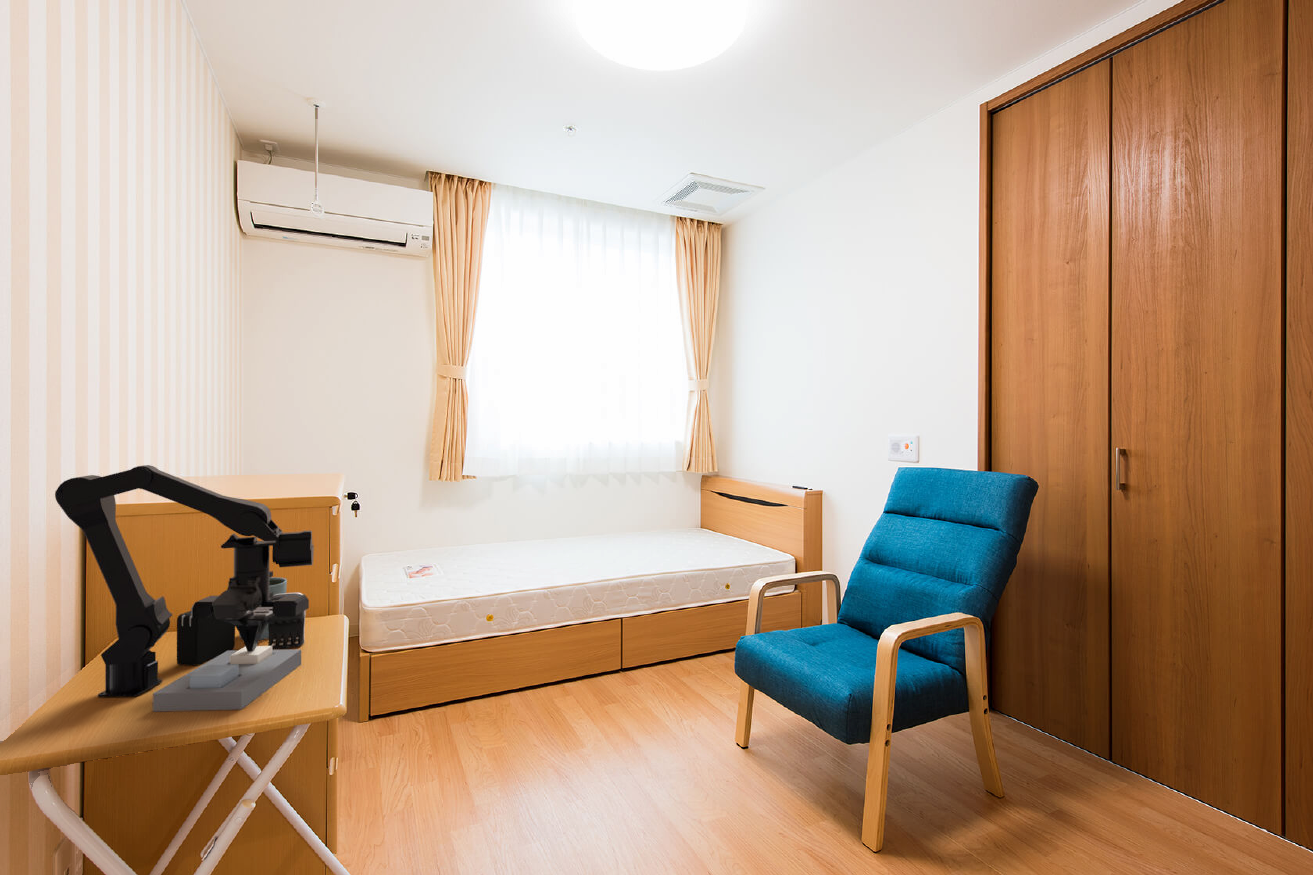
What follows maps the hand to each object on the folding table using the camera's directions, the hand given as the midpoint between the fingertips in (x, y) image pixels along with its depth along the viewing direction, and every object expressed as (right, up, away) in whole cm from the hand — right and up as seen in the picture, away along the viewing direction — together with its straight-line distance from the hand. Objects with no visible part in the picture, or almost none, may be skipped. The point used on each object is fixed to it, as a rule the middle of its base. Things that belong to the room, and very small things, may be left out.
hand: (251, 650), depth 117 cm
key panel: (0, -5, -5) cm, 7 cm away
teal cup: (-13, -4, +23) cm, 26 cm away
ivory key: (0, -2, 0) cm, 2 cm away
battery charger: (-2, -5, +14) cm, 15 cm away
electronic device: (-15, -5, +8) cm, 17 cm away
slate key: (+1, -2, -11) cm, 11 cm away
